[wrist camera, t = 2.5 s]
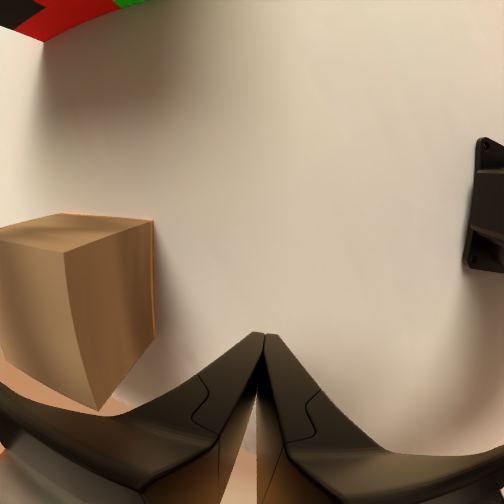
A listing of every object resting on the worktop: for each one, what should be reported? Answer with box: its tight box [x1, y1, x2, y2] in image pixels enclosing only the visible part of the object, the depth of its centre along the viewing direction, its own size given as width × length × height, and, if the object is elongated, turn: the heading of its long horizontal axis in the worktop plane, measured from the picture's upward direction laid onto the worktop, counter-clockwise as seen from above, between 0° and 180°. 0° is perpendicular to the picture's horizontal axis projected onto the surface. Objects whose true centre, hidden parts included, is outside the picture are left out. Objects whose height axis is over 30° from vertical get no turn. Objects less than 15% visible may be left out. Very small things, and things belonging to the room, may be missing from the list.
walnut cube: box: [0, 213, 156, 411], centre depth 10 cm, size 6×6×6 cm
